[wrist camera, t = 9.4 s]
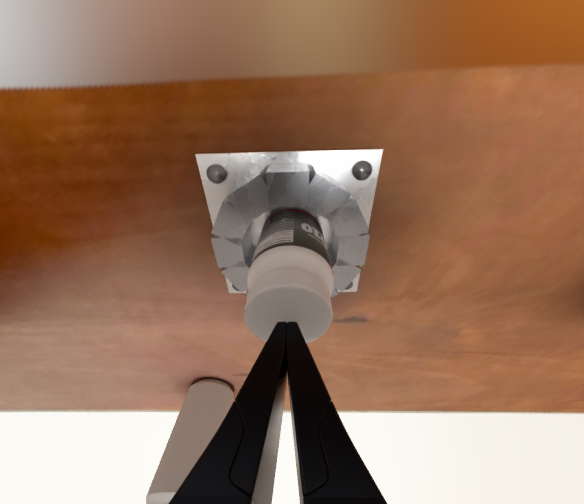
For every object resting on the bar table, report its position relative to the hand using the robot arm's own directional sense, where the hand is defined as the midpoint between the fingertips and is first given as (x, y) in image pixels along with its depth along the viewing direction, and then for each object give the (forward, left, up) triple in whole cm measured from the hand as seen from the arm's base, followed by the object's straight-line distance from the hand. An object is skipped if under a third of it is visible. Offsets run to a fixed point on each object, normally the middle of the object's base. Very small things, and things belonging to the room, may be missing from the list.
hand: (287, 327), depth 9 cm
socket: (0, 0, -9) cm, 9 cm away
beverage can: (+12, +25, -10) cm, 29 cm away
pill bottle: (0, 0, -9) cm, 9 cm away
